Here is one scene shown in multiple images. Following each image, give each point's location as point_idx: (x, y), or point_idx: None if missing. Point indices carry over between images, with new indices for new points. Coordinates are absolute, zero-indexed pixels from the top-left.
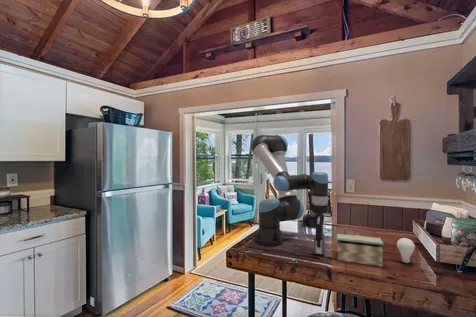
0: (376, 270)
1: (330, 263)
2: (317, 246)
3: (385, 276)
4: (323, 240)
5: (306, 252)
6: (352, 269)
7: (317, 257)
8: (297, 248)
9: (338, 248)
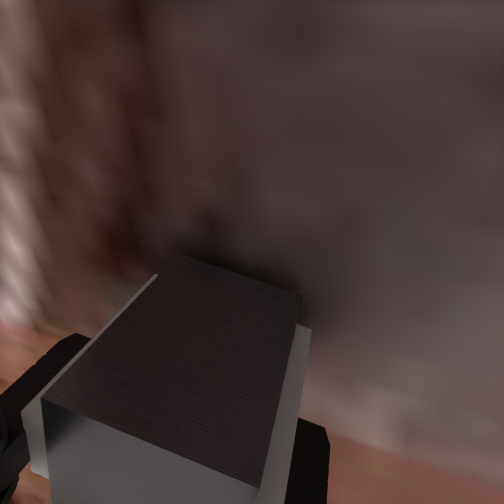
0: None
1: (46, 328)
2: (62, 344)
3: None
4: (58, 491)
5: (258, 172)
6: None
7: (134, 264)
8: (434, 36)
9: (51, 499)
